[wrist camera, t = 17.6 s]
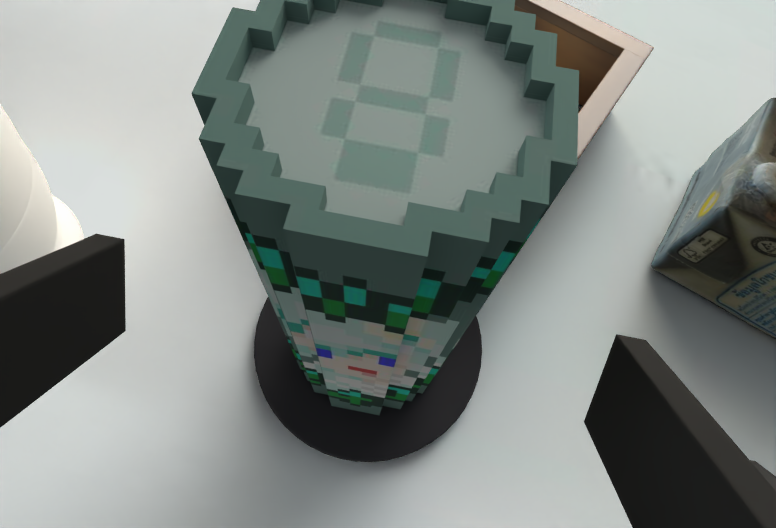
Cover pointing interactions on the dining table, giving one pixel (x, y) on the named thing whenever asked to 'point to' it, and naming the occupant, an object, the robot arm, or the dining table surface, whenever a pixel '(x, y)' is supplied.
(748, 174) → the beverage carton
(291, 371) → the coaster
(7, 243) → the jar
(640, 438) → the robot arm
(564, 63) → the wooden square frame
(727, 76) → the dining table surface
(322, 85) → the can
